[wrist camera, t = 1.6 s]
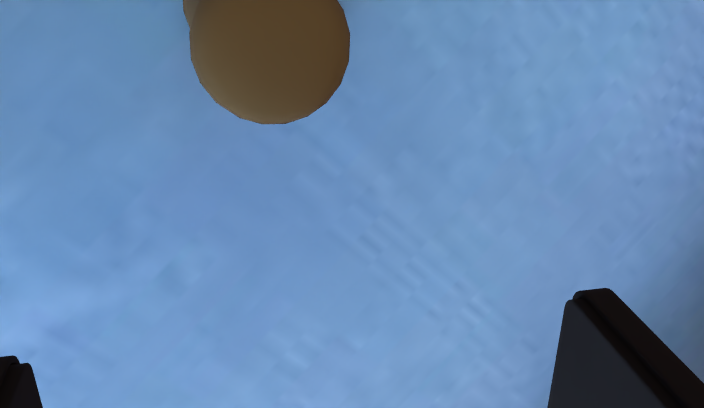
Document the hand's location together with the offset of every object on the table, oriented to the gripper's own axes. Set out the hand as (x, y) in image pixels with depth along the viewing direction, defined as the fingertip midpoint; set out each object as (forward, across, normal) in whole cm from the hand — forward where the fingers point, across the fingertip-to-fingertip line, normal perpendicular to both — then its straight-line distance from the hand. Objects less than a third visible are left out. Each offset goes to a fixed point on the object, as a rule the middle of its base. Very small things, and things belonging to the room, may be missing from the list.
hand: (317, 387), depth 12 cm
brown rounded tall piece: (+22, 0, -3) cm, 23 cm away
